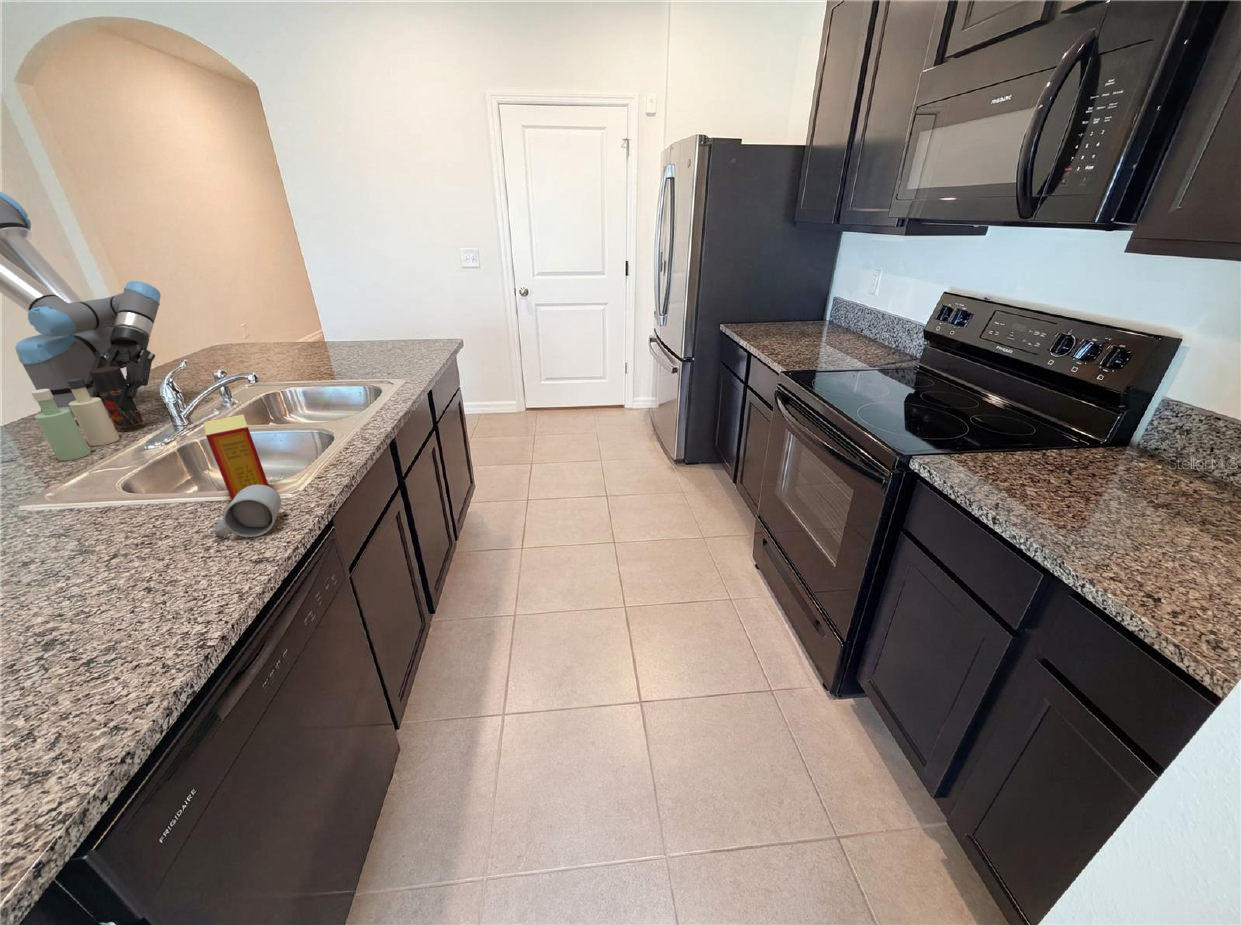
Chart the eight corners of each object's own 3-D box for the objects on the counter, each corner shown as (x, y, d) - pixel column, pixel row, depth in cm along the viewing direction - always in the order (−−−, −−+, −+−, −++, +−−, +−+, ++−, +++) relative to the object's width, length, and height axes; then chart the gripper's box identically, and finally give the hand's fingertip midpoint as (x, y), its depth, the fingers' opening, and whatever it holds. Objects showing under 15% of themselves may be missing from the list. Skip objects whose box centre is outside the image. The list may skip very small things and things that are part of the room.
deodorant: (147, 421, 139) (123, 368, 132) (119, 428, 134) (94, 374, 128) (138, 417, 142) (114, 365, 135) (111, 424, 137) (85, 370, 130)
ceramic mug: (287, 510, 99) (274, 476, 96) (280, 532, 92) (266, 495, 89) (223, 523, 95) (207, 487, 92) (211, 546, 89) (193, 509, 85)
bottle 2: (96, 438, 132) (66, 377, 125) (124, 435, 134) (95, 375, 127) (84, 447, 127) (51, 384, 120) (112, 444, 129) (82, 381, 122)
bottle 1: (66, 452, 125) (32, 388, 117) (96, 449, 126) (63, 385, 119) (52, 462, 120) (15, 395, 112) (83, 458, 121) (48, 393, 114)
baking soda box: (231, 490, 107) (202, 419, 100) (267, 481, 110) (242, 412, 103) (235, 508, 100) (205, 433, 93) (273, 497, 104) (247, 425, 97)
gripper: (178, 340, 144) (159, 414, 137) (107, 341, 143) (84, 416, 135) (156, 324, 137) (136, 401, 130) (82, 326, 136) (56, 404, 128)
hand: (109, 409), depth 132 cm, fingers closed on deodorant, 6 cm apart
